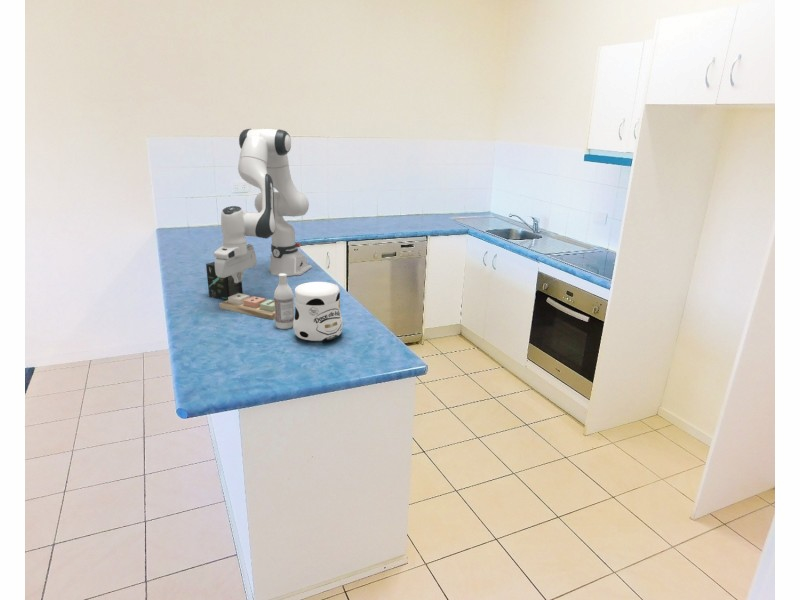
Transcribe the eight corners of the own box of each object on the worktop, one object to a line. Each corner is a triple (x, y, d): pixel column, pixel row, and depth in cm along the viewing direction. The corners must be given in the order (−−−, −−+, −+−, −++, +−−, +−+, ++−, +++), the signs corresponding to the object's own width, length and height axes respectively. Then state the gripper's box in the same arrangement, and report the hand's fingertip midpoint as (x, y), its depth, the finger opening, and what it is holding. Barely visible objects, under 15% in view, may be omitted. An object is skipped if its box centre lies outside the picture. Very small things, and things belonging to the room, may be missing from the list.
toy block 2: (254, 305, 217) (253, 295, 216) (266, 307, 215) (265, 298, 214) (244, 309, 212) (243, 300, 211) (256, 312, 210) (255, 302, 208)
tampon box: (243, 295, 229) (241, 262, 224) (226, 301, 221) (223, 267, 216) (225, 291, 234) (222, 258, 229) (208, 296, 226) (205, 263, 222)
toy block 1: (238, 302, 221) (238, 292, 219) (250, 304, 218) (249, 294, 217) (228, 306, 215) (227, 296, 214) (240, 309, 213) (239, 299, 212)
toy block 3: (270, 308, 214) (269, 298, 213) (282, 311, 212) (281, 301, 210) (260, 313, 209) (259, 303, 208) (272, 316, 207) (272, 306, 205)
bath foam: (277, 322, 201) (275, 271, 195) (296, 322, 201) (294, 271, 195) (273, 329, 195) (270, 276, 188) (292, 329, 195) (290, 277, 188)
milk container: (333, 348, 180) (333, 298, 174) (285, 343, 184) (283, 293, 178) (348, 329, 196) (348, 283, 190) (304, 324, 200) (302, 278, 194)
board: (240, 299, 224) (239, 295, 223) (291, 310, 214) (290, 305, 213) (219, 308, 214) (219, 303, 213) (272, 319, 203) (271, 314, 203)
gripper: (246, 241, 219) (249, 273, 224) (210, 253, 202) (214, 288, 207) (259, 243, 217) (261, 276, 222) (223, 256, 199) (226, 290, 204)
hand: (238, 282), depth 214 cm, fingers closed
